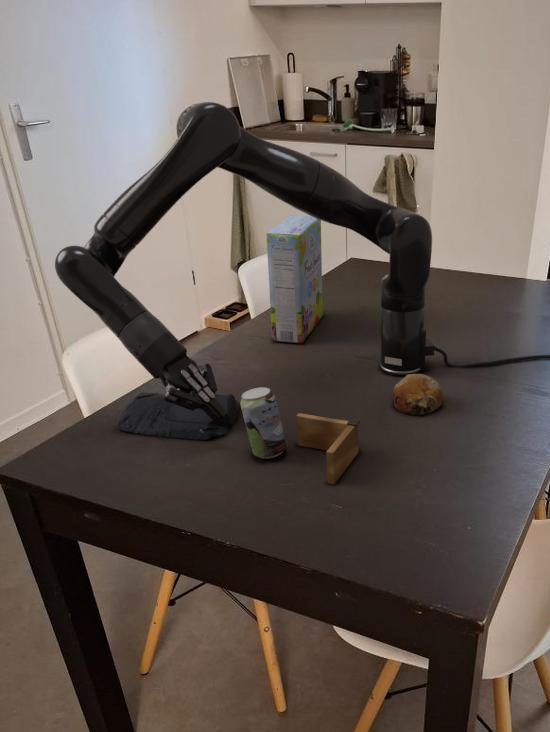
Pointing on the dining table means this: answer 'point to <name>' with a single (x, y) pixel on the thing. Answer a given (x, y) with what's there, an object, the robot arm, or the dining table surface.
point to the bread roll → (417, 394)
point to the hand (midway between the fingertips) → (223, 419)
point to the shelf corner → (330, 440)
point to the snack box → (295, 277)
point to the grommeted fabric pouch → (174, 418)
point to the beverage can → (263, 422)
